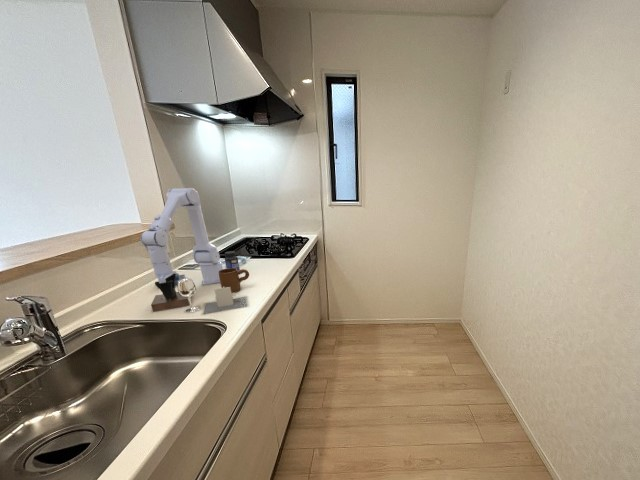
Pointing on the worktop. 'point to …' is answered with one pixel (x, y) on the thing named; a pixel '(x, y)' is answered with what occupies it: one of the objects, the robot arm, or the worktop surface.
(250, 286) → the worktop surface
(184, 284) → the wineglass
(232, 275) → the mug
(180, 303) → the panel
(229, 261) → the pill bottle
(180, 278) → the button box
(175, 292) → the knob
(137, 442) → the worktop surface
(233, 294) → the architectural model
